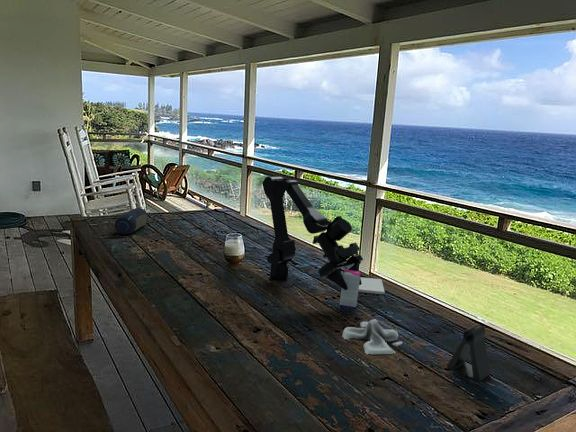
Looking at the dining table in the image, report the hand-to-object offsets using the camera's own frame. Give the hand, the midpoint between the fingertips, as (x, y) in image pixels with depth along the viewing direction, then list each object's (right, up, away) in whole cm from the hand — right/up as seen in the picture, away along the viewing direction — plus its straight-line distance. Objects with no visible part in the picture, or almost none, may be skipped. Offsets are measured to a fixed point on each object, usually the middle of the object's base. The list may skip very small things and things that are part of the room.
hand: (353, 287), depth 158 cm
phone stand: (+24, -16, -37) cm, 47 cm away
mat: (+7, -3, +21) cm, 23 cm away
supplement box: (-2, -6, +2) cm, 7 cm away
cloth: (+4, -12, -20) cm, 24 cm away
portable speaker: (-101, +17, +80) cm, 130 cm away
